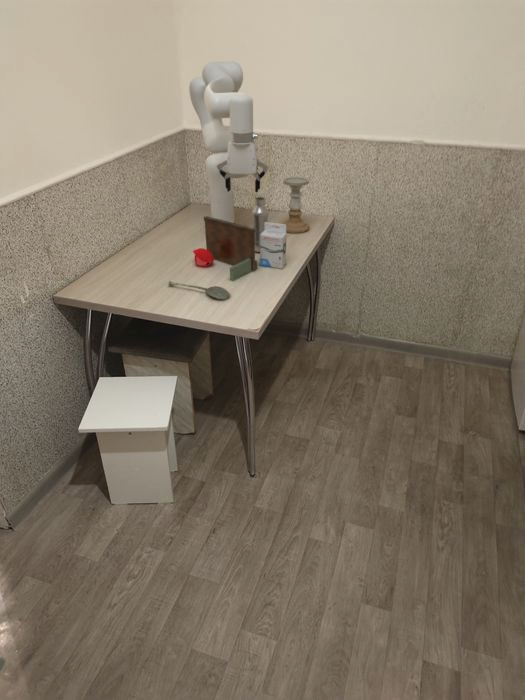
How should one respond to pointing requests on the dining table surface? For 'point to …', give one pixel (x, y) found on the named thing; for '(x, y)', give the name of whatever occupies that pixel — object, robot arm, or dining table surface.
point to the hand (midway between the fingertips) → (242, 190)
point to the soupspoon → (209, 290)
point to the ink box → (273, 245)
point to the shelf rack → (231, 245)
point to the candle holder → (295, 205)
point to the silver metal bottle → (259, 219)
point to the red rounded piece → (203, 257)
